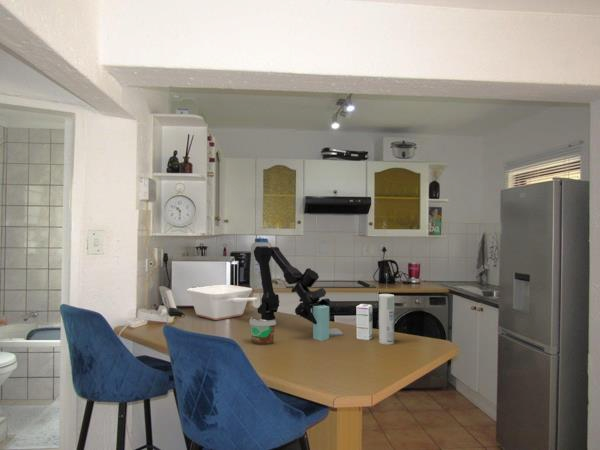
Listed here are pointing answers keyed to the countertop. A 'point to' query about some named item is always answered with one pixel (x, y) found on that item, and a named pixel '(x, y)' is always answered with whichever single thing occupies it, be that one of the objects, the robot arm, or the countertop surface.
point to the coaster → (335, 332)
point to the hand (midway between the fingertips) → (323, 322)
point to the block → (321, 322)
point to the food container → (262, 331)
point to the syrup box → (364, 321)
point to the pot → (220, 301)
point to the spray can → (386, 318)
